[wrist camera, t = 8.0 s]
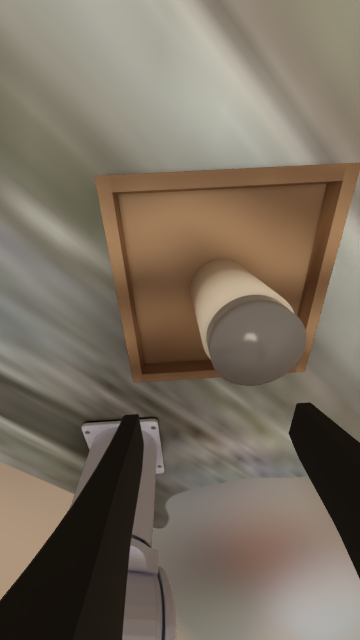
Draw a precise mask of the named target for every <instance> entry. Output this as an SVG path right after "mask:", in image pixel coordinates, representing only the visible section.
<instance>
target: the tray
mask: <svg viewBox="0 0 360 640" xmlns="http://www.w3.org/2000/svg"><path fill="white" fill-rule="evenodd" d="M359 170H360V163H345V164H325V165H305V166H285V167H265V168H244V169H224V170H204V171H184V172H164V173H144V174H123V175H103V176H95V182H96V187H97V192H98V198H99V203H100V208H101V213H102V219H103V224H104V229H105V235H106V240H107V245H108V251H109V256H110V261H111V266H112V272H113V277H114V282H115V288H116V293H117V298H118V303H119V309H120V314H121V319H122V325H123V330H124V335H125V340H126V346H127V351H128V356H129V362H130V367H131V372H132V377H133V383H135V382H151V381H167V380H183V379H198V378H214V377H221V376H220V375H219V374H218V373H217V371H216V370H215V368H214V367H213V364H212V362H211V360H210V358H209V357H208V356H207V354H206V353H205V350H204V348H203V344H202V340H201V335H200V331H199V327H198V323H197V318H196V314H195V310H194V306H193V302H192V297H191V292H190V286H191V281H192V279H193V276H194V275H195V273H196V272H197V270H198V269H199V268H200V267H201V266H203V265H204V264H205V263H207V262H209V261H212V260H215V259H229V260H233V261H235V262H237V263H238V264H240V265H241V266H242V267H243V268H245V269H246V270H247V271H249V272H250V273H251V274H253V275H254V276H255V277H256V278H258V279H259V280H260V281H262V282H263V283H264V284H266V285H267V286H268V287H269V288H271V289H272V290H273V291H275V292H276V293H277V294H278V295H280V296H281V297H282V298H284V299H285V300H286V301H287V302H288V303H289V304H290V306H291V307H292V309H293V311H294V314H295V315H296V316H297V317H299V319H300V320H301V321H302V323H303V325H304V327H305V330H306V336H307V338H306V346H305V350H304V352H303V354H302V356H301V358H300V360H299V361H298V362H297V364H296V365H295V366H294V367H293V368H292V369H291V370H290V371H289V372H287V373H293V372H305V369H306V365H307V361H308V358H309V354H310V350H311V347H312V343H313V339H314V336H315V332H316V328H317V325H318V321H319V317H320V314H321V310H322V306H323V303H324V299H325V295H326V292H327V288H328V284H329V281H330V277H331V273H332V270H333V266H334V262H335V259H336V255H337V251H338V248H339V244H340V240H341V237H342V233H343V229H344V226H345V222H346V218H347V215H348V211H349V207H350V204H351V200H352V196H353V193H354V189H355V185H356V181H357V178H358V174H359Z"/></svg>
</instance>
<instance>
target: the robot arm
mask: <svg viewBox="0 0 360 640" xmlns="http://www.w3.org/2000/svg"><path fill="white" fill-rule="evenodd" d="M82 431H83V434H84V437H85V439H86V442H87V445H88V447H89V450H90V451H89V454H88V457H87V460H86V463H85V466H84V469H83V472H82V474H81V477H80V480H79V483H78V486H77V489H76V492H75V495H74V498H73V501H72V504H71V507H70V509H69V511H68V512H67V514H66V515H65V516H64V518H63V519H62V521H61V522H60V524H59V525H58V527H57V528H56V529H55V531H54V532H53V533H52V535H51V536H50V537H49V539H48V540H47V541H46V543H45V544H44V545H43V547H42V548H41V549H40V551H39V552H38V554H37V555H36V556H35V558H34V559H33V560H32V561H31V563H30V564H29V565H28V567H27V568H26V569H25V570H24V572H23V573H22V574H21V576H20V577H19V578H18V579H17V580H16V582H15V583H14V584H13V585H12V586H11V588H10V589H9V590H8V591H7V593H6V594H5V595H4V596H3V597H2V599H1V600H0V640H176V612H175V603H174V597H173V593H172V589H171V586H170V583H169V579H168V577H167V574H166V572H165V570H164V569H163V568H161V567H160V566H159V550H156V549H152V532H153V517H154V499H155V482H156V474H160V473H163V472H164V463H163V455H162V448H161V441H160V433H159V426H158V421H157V420H156V419H140V420H139V415H138V414H136V415H125V416H124V417H123V418H122V420H121V421H110V422H95V423H85V424H83V426H82ZM289 435H290V438H291V440H292V443H293V445H294V448H295V450H296V452H297V455H298V457H299V459H300V461H301V463H302V465H303V467H304V469H305V470H306V472H307V474H308V476H309V478H310V480H311V482H312V483H313V485H314V487H315V489H316V491H317V493H318V494H319V496H320V498H321V500H322V502H323V503H324V505H325V507H326V509H327V511H328V513H329V515H330V516H331V518H332V520H333V522H334V524H335V526H336V528H337V530H338V532H339V534H340V536H341V538H342V541H343V543H344V545H345V547H346V549H347V552H348V554H349V556H350V558H351V560H352V562H353V565H354V567H355V569H356V571H357V574H358V576H359V578H360V443H359V442H358V441H357V440H356V439H354V438H353V437H352V436H351V435H349V434H348V433H347V432H346V431H344V430H343V429H342V428H341V427H339V426H338V425H337V424H336V423H335V422H333V421H332V420H331V419H330V418H328V417H327V416H326V415H325V414H324V413H322V412H321V411H320V410H319V409H317V408H316V407H315V406H314V405H312V404H311V403H297V405H296V408H295V412H294V416H293V419H292V423H291V427H290V431H289Z"/></svg>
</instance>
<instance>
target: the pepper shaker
mask: <svg viewBox="0 0 360 640" xmlns="http://www.w3.org/2000/svg"><path fill="white" fill-rule="evenodd" d="M190 292H191V297H192V302H193V306H194V310H195V314H196V318H197V323H198V327H199V331H200V335H201V340H202V344H203V348H204V350H205V353H206V354H207V356H208V357H209V358H210V360H211V362H212V364H213V367H214V368H215V370H216V371H217V373H218V374H219V375H220V376H221V377H223V378H224V379H226V380H227V381H229V382H232V383H235V384H238V385H246V386H254V385H261V384H265V383H268V382H271V381H274V380H276V379H278V378H280V377H281V376H283V375H285V374H286V373H287V372H289V371H290V370H291V369H292V368H293V367H294V366H295V365H296V364H297V362H298V361H299V360H300V358H301V356H302V354H303V352H304V350H305V346H306V338H307V336H306V330H305V327H304V325H303V323H302V321H301V320H300V319H299V317H297V316H296V315H295V314H294V311H293V309H292V307H291V306H290V304H289V303H288V302H287V301H286V300H285V299H284V298H282V297H281V296H280V295H278V294H277V293H276V292H275V291H273V290H272V289H271V288H269V287H268V286H267V285H266V284H264V283H263V282H262V281H260V280H259V279H258V278H256V277H255V276H254V275H253V274H251V273H250V272H249V271H247V270H246V269H245V268H243V267H242V266H241V265H240V264H238V263H237V262H235V261H233V260H229V259H215V260H212V261H209V262H207V263H205V264H204V265H203V266H201V267H200V268H199V269H198V270H197V272H196V273H195V275H194V276H193V279H192V281H191V286H190Z"/></svg>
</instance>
